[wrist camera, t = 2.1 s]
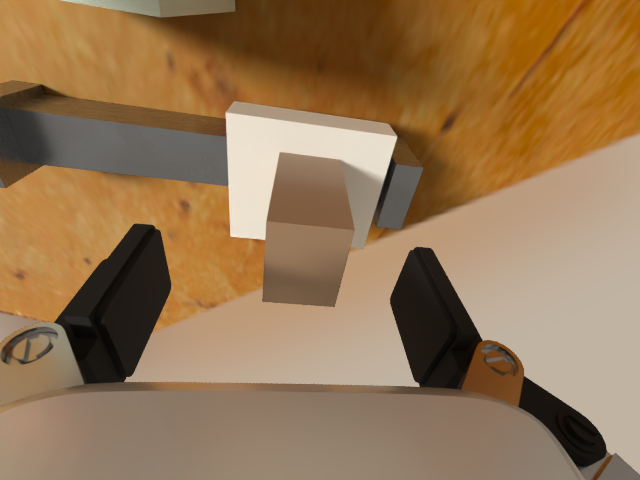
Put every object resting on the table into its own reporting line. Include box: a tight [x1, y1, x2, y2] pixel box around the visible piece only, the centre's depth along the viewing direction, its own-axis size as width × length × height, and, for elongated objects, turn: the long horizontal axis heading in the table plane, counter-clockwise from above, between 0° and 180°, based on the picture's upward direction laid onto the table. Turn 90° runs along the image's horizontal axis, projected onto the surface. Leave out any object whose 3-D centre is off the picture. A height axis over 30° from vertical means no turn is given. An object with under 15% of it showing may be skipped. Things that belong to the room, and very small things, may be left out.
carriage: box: [226, 101, 397, 307], centre depth 15 cm, size 8×7×10 cm
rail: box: [0, 80, 424, 229], centre depth 18 cm, size 23×4×5 cm, turn 82°
